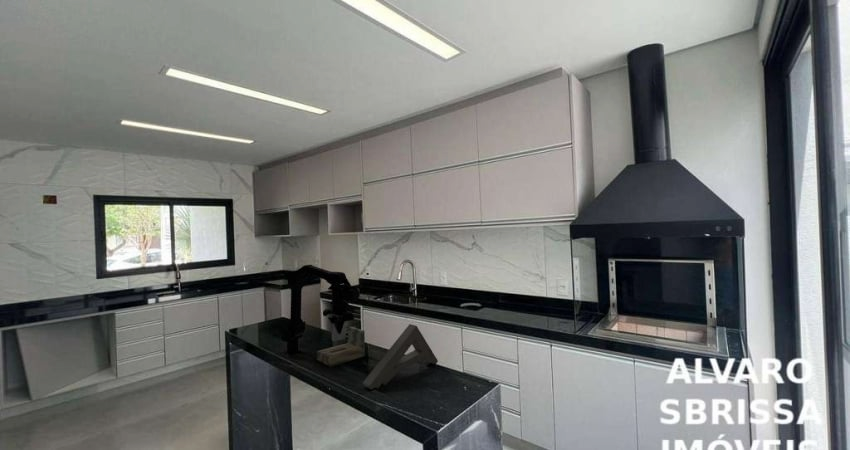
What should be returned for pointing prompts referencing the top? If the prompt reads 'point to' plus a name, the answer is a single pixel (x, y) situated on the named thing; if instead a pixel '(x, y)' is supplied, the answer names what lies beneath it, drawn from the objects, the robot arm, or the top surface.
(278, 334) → the top surface
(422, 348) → the wall bracket
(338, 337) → the bracket plate
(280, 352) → the top surface
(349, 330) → the post base
